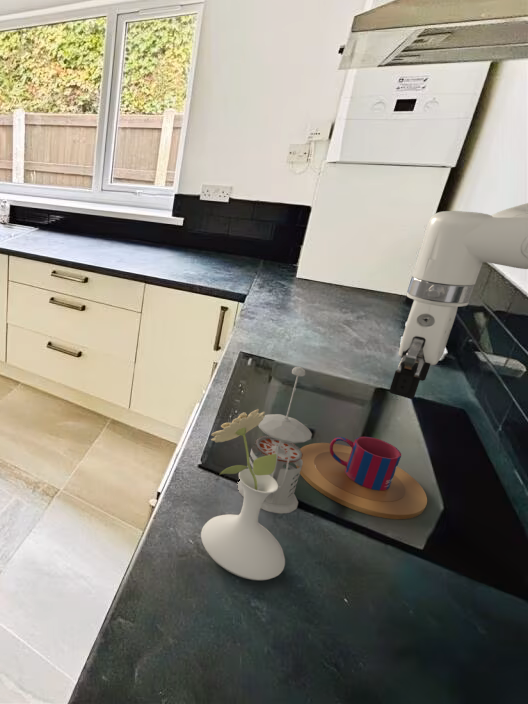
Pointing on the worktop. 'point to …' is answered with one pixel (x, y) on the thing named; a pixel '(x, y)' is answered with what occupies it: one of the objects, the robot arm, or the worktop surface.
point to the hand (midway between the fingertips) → (407, 386)
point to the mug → (370, 462)
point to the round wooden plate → (335, 484)
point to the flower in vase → (246, 514)
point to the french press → (281, 455)
